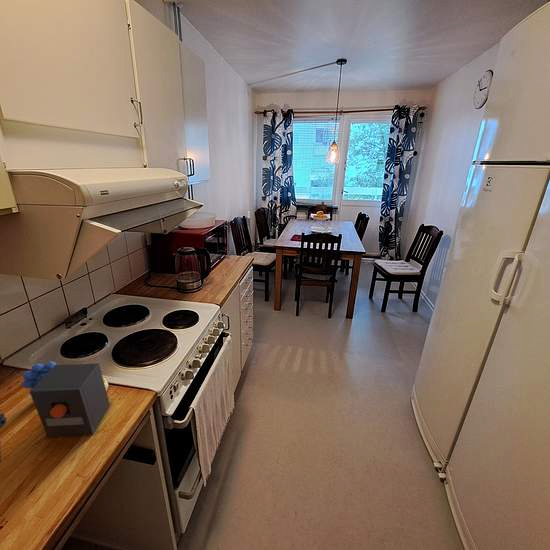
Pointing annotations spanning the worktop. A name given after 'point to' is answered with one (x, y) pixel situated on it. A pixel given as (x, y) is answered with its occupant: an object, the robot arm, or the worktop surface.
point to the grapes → (36, 374)
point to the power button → (58, 411)
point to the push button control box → (71, 399)
